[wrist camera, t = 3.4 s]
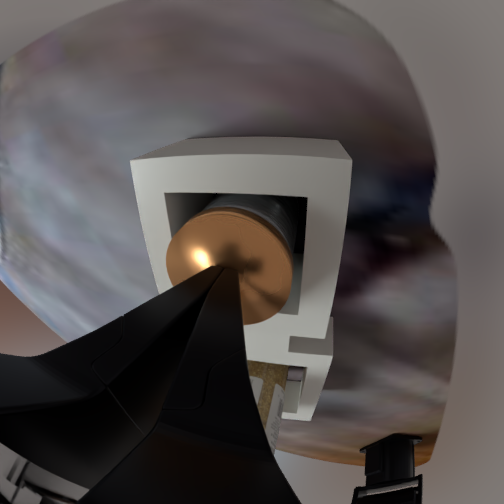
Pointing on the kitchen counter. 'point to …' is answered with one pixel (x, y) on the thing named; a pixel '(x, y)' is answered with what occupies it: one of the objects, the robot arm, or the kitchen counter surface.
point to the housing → (305, 265)
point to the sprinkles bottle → (269, 395)
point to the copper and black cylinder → (242, 248)
